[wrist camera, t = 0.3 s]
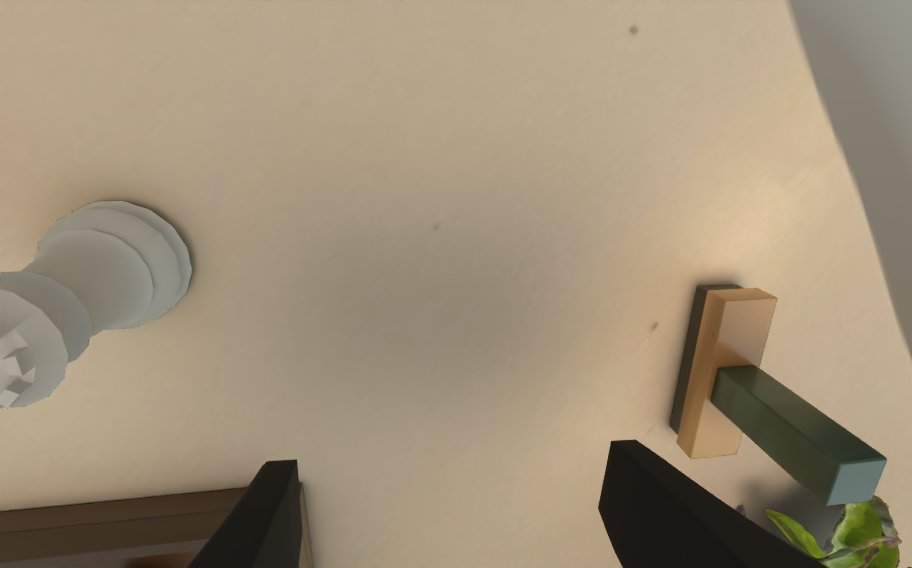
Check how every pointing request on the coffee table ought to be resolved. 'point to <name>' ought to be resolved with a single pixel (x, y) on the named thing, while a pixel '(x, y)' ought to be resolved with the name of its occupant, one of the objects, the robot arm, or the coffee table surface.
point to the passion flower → (848, 537)
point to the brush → (760, 402)
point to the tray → (123, 532)
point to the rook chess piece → (84, 292)
